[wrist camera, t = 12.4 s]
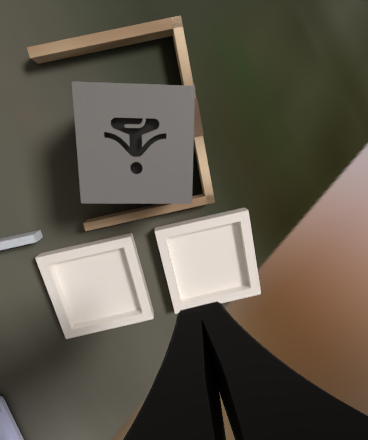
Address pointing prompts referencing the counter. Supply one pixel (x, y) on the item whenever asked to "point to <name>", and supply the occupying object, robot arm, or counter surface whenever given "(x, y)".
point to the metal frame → (20, 239)
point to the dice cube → (134, 142)
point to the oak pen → (175, 29)
